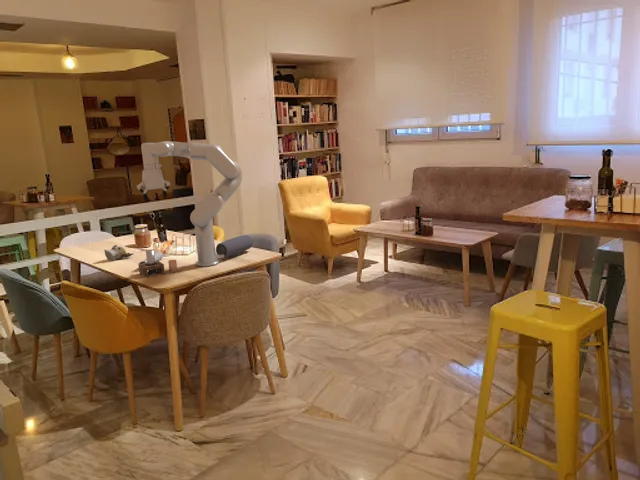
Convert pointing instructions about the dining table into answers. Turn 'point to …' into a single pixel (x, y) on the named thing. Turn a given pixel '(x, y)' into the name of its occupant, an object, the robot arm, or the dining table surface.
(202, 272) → the dining table surface
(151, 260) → the steel pin long
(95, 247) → the dining table surface
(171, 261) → the clay pin short
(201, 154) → the robot arm
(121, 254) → the ceramic sculpture
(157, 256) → the tube
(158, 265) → the walnut bridge
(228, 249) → the bluetooth speaker
